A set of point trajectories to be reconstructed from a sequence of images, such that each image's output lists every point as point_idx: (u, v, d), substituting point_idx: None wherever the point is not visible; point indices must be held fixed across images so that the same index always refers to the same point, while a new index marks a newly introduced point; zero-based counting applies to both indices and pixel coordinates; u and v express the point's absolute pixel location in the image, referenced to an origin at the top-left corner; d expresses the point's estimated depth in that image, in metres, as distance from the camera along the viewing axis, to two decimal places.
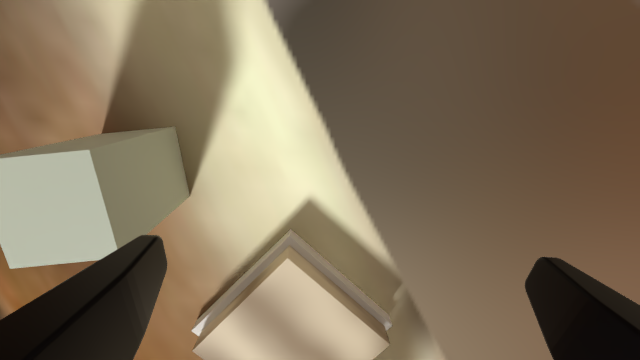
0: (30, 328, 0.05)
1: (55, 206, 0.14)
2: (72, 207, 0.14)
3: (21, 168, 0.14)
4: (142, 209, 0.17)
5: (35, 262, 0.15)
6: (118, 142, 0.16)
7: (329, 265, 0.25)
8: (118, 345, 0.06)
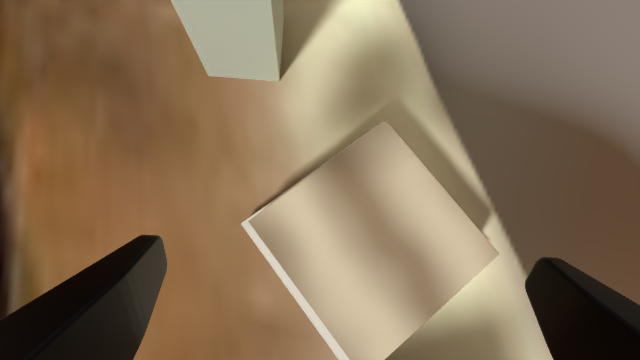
0: (30, 328, 0.05)
1: None
2: None
3: None
4: None
5: None
6: None
7: None
8: (118, 345, 0.06)
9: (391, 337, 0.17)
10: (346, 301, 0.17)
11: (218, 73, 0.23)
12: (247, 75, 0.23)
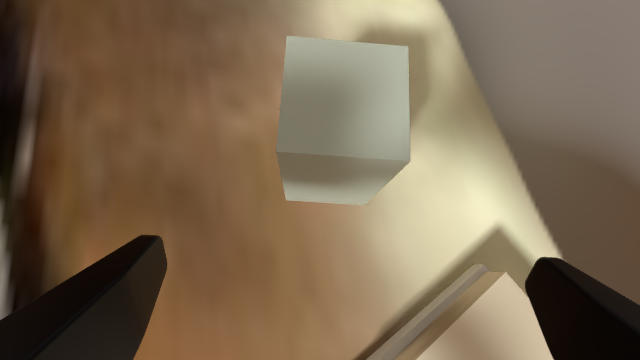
0: (30, 328, 0.05)
1: (356, 91, 0.13)
2: (374, 95, 0.13)
3: (336, 50, 0.13)
4: None
5: (308, 149, 0.12)
6: None
7: None
8: (118, 345, 0.06)
9: None
10: None
11: (298, 199, 0.20)
12: (330, 201, 0.20)
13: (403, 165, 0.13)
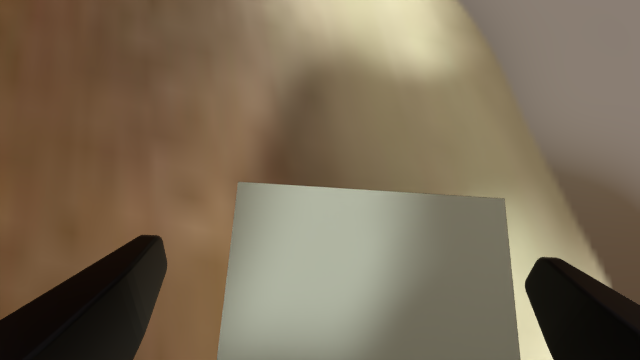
0: (30, 328, 0.05)
1: (397, 323, 0.05)
2: (437, 333, 0.05)
3: (348, 216, 0.06)
4: None
5: None
6: None
7: None
8: (118, 345, 0.06)
9: None
10: None
11: None
12: None
13: None
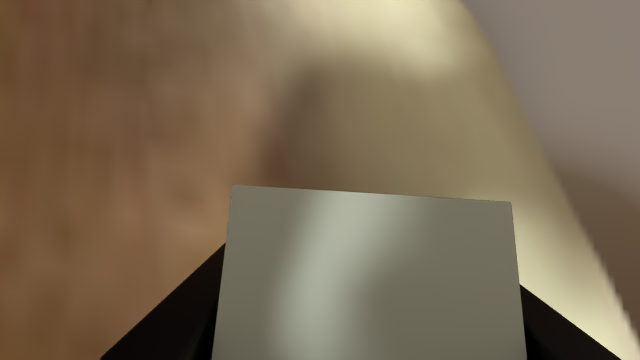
0: (167, 334, 0.05)
1: (399, 333, 0.05)
2: (442, 343, 0.05)
3: (347, 220, 0.06)
4: None
5: None
6: None
7: None
8: None
9: None
10: None
11: None
12: None
13: None
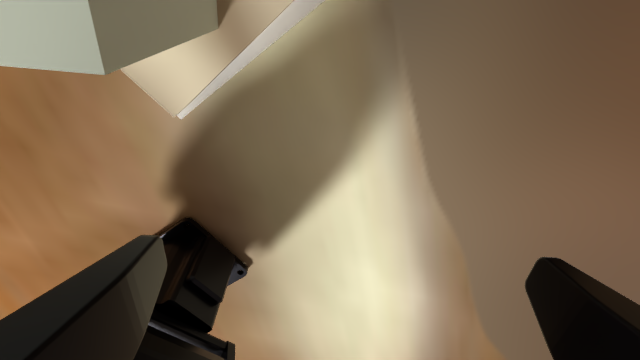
0: (30, 328, 0.05)
1: None
2: None
3: None
4: None
5: None
6: None
7: None
8: (118, 345, 0.06)
9: (195, 77, 0.15)
10: None
11: None
12: None
13: None
